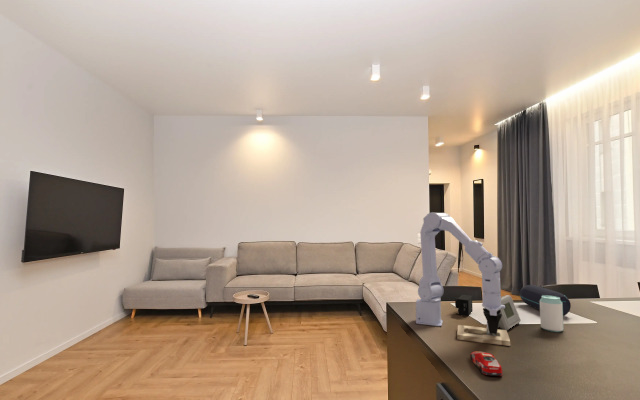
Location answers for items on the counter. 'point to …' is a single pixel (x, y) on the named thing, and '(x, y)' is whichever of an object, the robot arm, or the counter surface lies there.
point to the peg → (489, 332)
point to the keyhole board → (464, 334)
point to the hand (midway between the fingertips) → (492, 331)
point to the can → (551, 313)
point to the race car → (486, 363)
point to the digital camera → (464, 305)
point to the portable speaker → (534, 293)
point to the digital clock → (508, 313)
